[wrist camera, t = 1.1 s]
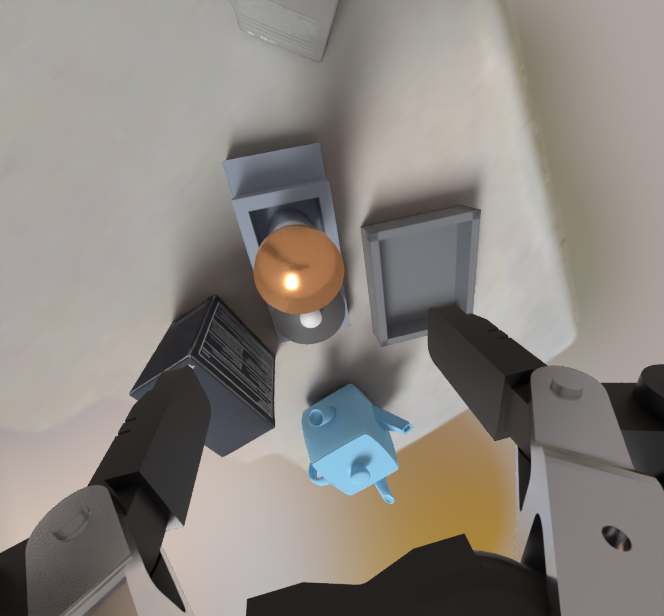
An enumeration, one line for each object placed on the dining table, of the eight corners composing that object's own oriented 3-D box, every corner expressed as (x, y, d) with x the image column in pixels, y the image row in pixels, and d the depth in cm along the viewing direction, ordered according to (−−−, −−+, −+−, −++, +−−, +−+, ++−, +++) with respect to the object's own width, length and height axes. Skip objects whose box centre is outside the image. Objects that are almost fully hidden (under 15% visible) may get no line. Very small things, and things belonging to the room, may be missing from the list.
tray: (360, 227, 30) (369, 234, 27) (462, 205, 30) (480, 209, 28) (373, 332, 36) (381, 346, 33) (457, 311, 37) (472, 324, 34)
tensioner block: (225, 160, 25) (214, 161, 20) (316, 143, 25) (326, 140, 21) (279, 333, 33) (279, 362, 29) (346, 317, 34) (357, 343, 29)
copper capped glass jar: (253, 207, 25) (241, 239, 15) (312, 195, 25) (336, 219, 16) (270, 264, 28) (267, 322, 18) (323, 252, 28) (350, 303, 18)
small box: (166, 325, 31) (120, 396, 22) (215, 291, 30) (189, 350, 21) (234, 384, 36) (220, 462, 27) (277, 356, 35) (278, 427, 26)
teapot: (266, 396, 37) (264, 470, 29) (358, 339, 36) (385, 398, 27) (338, 461, 46) (353, 533, 37) (415, 417, 44) (450, 481, 36)
